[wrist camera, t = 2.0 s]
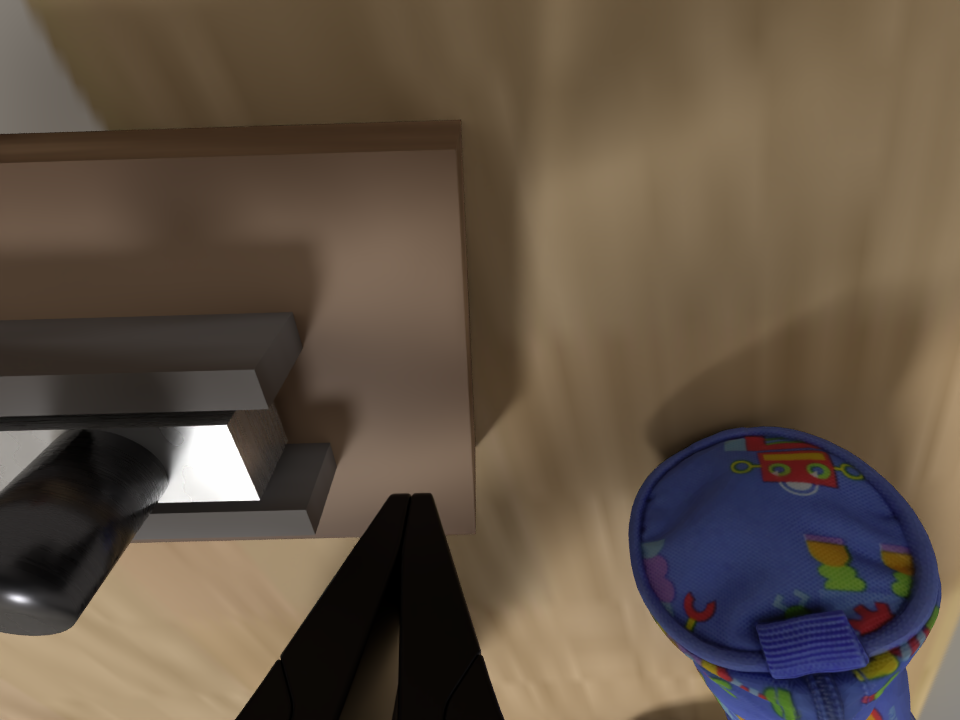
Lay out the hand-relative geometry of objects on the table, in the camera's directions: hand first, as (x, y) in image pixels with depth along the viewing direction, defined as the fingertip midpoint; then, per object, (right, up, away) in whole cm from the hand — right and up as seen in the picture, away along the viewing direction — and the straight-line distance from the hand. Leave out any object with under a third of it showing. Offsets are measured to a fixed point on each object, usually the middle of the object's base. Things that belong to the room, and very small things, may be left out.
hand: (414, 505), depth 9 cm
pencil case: (+15, -7, +15) cm, 22 cm away
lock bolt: (-10, +2, +3) cm, 10 cm away
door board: (-8, +4, +6) cm, 11 cm away
